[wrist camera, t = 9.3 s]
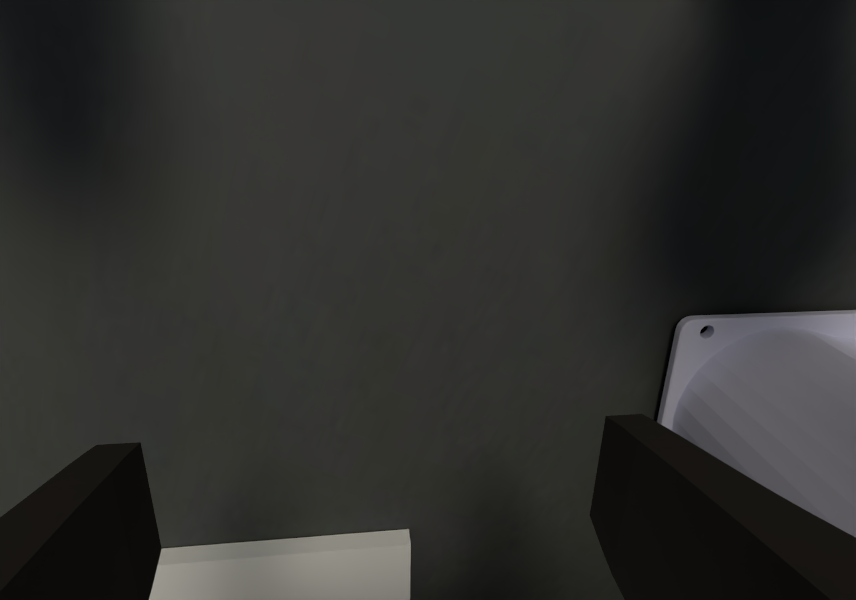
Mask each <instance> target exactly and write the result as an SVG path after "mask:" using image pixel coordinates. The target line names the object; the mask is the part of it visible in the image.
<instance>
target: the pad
mask: <svg viewBox="0 0 856 600" xmlns="http://www.w3.org/2000/svg"><path fill="white" fill-rule="evenodd" d="M410 564H411V542H410V535H409V529H403V530H391V531H378V532H366V533H353V534H340V535H328V536H315V537H302V538H290V539H277V540H264V541H252V542H239V543H227V544H214V545H201V546H189V547H176V548H163V549H161V554H160V558H159V562H158V566H157V570H156V574H155V578H154V582H153V586H152V590H151V594H150V597H149V600H410Z"/></svg>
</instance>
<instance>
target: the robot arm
mask: <svg viewBox="0 0 856 600" xmlns="http://www.w3.org/2000/svg"><path fill="white" fill-rule="evenodd" d="M707 325H708V328H707V330H706V331H705V332H704V333H701V334H700V331H701V329H702V328H703V327H705V326H707ZM590 517H591V520H592V523H593V525H594V528H595V531H596V534H597V536H598V539H599V542H600V545H601V547H602V550H603V553H604V555H605V558H606V560H607V563H608V565H609V568H610V570H611V573H612V575H613V577H614V579H615V581H616V583H617V585H618V587H619V589H620V591H621V593H622V595H623V597H624V599H625V600H856V310H841V311H812V312H783V313H754V314H725V315H696V316H687V317H685V318H683V319H682V320H681V321H680V322H679V323H678V324H677V327H676V330H675V335H674V340H673V344H672V349H671V354H670V359H669V364H668V369H667V374H666V379H665V384H664V389H663V394H662V399H661V404H660V409H659V414H658V419H657V422H656V421H654V420H652V419H650V418H648V417H646V416H644V415H642V414H635V415H617V416H606V418H605V425H604V431H603V437H602V443H601V449H600V456H599V462H598V468H597V474H596V480H595V487H594V493H593V499H592V505H591V511H590ZM160 554H161V544H160V539H159V534H158V529H157V524H156V519H155V514H154V509H153V504H152V498H151V493H150V488H149V483H148V478H147V473H146V468H145V463H144V458H143V453H142V448H141V443H124V444H106V445H96V446H95V447H93V448H92V449H90V450H89V451H87V452H86V453H84V454H83V455H82V456H80V457H79V458H77V459H76V460H75V461H73V462H72V463H71V464H69V465H68V466H67V467H65V468H64V469H63V470H62V471H60V472H59V473H58V474H56V475H55V476H54V477H52V478H51V479H50V480H49V481H47V482H46V483H45V484H43V485H42V486H41V487H39V488H38V489H37V490H36V491H34V492H33V493H32V494H30V495H29V496H28V497H27V498H25V499H24V500H23V501H21V502H20V503H19V504H17V505H16V506H15V507H13V508H12V509H11V510H10V511H8V512H7V513H6V514H4V515H3V516H2V517H0V600H149V597H150V594H151V590H152V586H153V582H154V578H155V574H156V570H157V566H158V562H159V558H160Z"/></svg>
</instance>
